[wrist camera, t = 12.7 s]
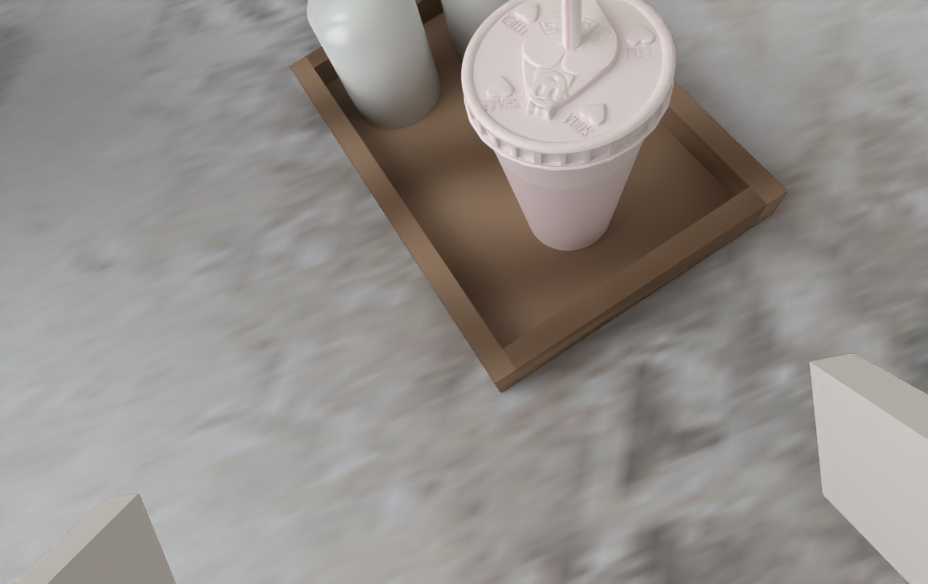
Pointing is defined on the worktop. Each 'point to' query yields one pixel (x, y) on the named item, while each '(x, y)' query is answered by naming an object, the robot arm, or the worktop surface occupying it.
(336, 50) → the white rounded cylinder
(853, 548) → the worktop surface
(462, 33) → the white domed cylinder
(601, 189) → the smoothie
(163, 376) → the worktop surface
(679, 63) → the worktop surface
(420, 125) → the tray
